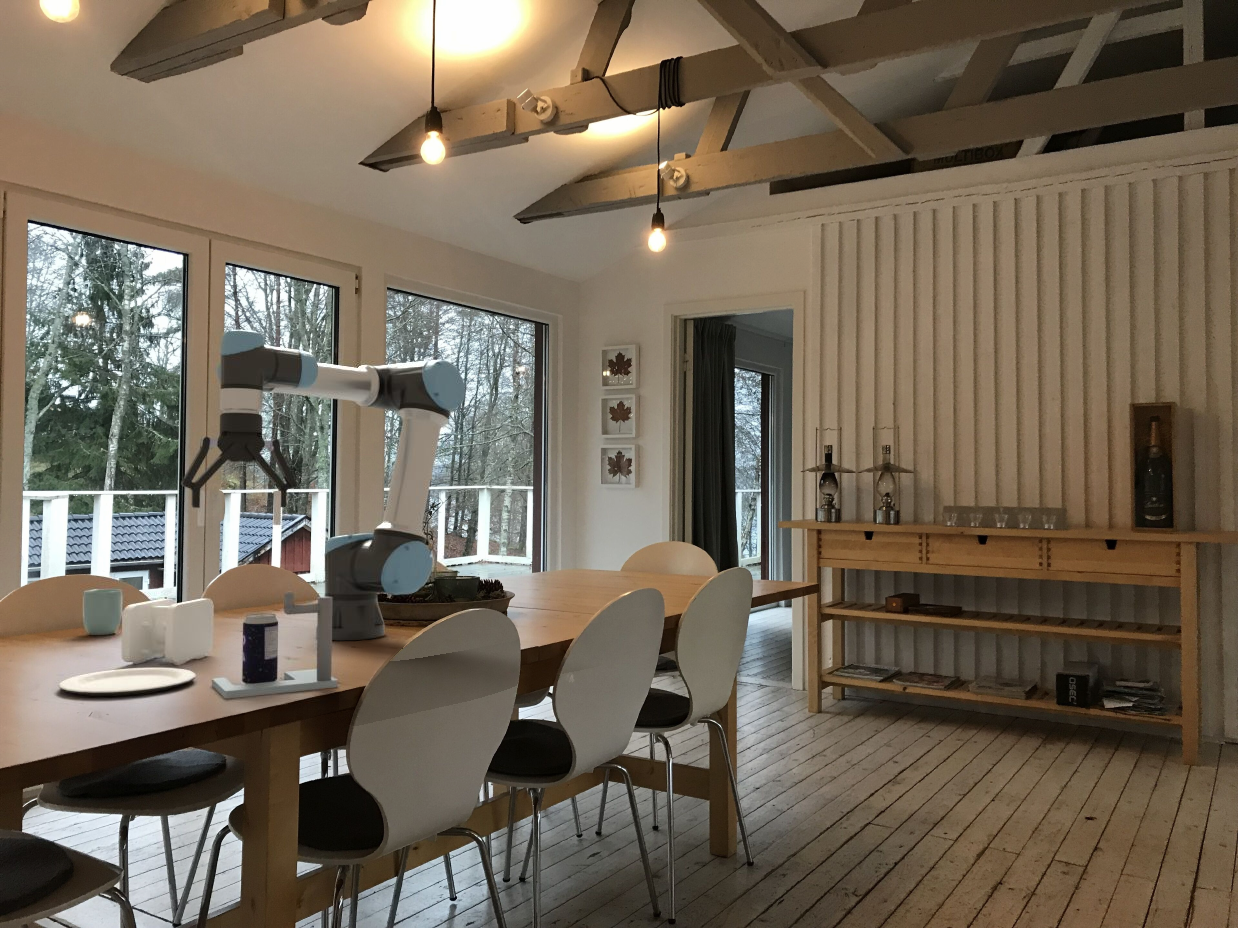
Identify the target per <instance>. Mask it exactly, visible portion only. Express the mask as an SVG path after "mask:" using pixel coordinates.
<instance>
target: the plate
mask: <svg viewBox="0 0 1238 928" xmlns="http://www.w3.org/2000/svg"><path fill="white" fill-rule="evenodd" d="M196 676H197V674H196V673H195V672H193V671H192V670H189V669H183V668H176V667H133V668H121V669H110V670H103V671H95V672H90V673H85V674H80V675H76V676H72V677H69V678H67V679H65V680H62V681H61V682H60V683H59V684H58V688H59V689H60V690H61V691H63V692H64V691H65V692H67V693H72V694H79V695H84V696H90V697H91V696H92V697H93V696H94V697H97V696H98V697H119V696H120V697H121V696H135V695H143V694H151V693H157V692H161V691H165V690H169V689H172V688H175V687H177V686H179V687H180V686H182V685H185V684H188V683H190V682H191V681H193V680H195V679H196Z"/></svg>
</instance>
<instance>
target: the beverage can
mask: <svg viewBox="0 0 1238 928" xmlns="http://www.w3.org/2000/svg"><path fill="white" fill-rule="evenodd" d="M276 616H277V615H276V613H272V612H271V613H270V612H266V613H264V612H262V613H261V612H258V613H249V614H246V615H245V618H244V621H243V623H242V660H241V661H242V665H241V666H242V669H241V671H242V673H241V678H242V679H241V680H242V681H241V682H243V683H244V685H245V684H256V683H266V682H276V681H278V671H279V670H278V665H279V664H278V663H279V662H278V661H279V657H278V655H279V654H278V653H279V652H278V651H279V650H278V649H279V621H278V619H277V617H276Z"/></svg>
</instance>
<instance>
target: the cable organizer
mask: <svg viewBox="0 0 1238 928" xmlns="http://www.w3.org/2000/svg"><path fill="white" fill-rule="evenodd" d="M214 608H215V607H214V603H213V600H212V599H211V598H198V599H193V600H189V601H183V602H178V603H176V601H175V600H174V599H172V598H160V599H154V600H148V601H143V602H142V601H141V602H138V603H132V604H128V605H127V606H125V608H124V609H123V610H122V616H121V659H122V661H124V662H126V663H132V664H133V665H139V664H142V663H145V662H147V660H149V659H150V660H151V659H160V658H165V661H166V662H168V663H171V664H173V665H174V666H180V665H183V664H185V663H187V662H188V661H189V660H192V659H193V660H199V659H202V658H205V657H206V656H207V655H208V654H210V653H211V651H212V649H213V646H214V610H215V609H214Z"/></svg>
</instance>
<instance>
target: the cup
mask: <svg viewBox="0 0 1238 928" xmlns="http://www.w3.org/2000/svg"><path fill="white" fill-rule="evenodd" d="M122 611H123V590H122V588H121V589H119V588H98V589H97V588H96V589H87V590H84V591H83V596H82V620H83V626H84V629H85V631H86V632H87V633H88V634H89V635H90V636H91V635H92V636H107V635H111V634H112V635H113V634H114V633H116V632H117V631H118V629H119V628H120V626H121V623H122Z"/></svg>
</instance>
